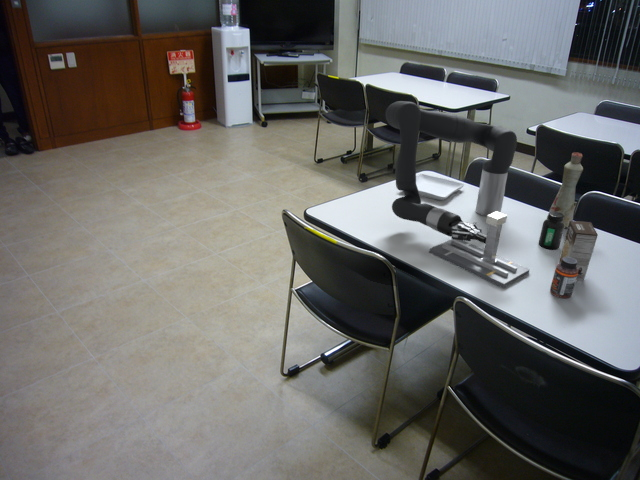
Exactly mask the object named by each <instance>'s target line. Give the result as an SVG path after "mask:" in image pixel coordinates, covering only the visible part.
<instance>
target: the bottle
mask: <svg viewBox="0 0 640 480" xmlns="http://www.w3.org/2000/svg"><path fill="white" fill-rule="evenodd" d="M570 157H571V159H570V161H568V162H567V163H566V164H565V165H564V166H563V167H564V168H563V175H562V183H561V185H560V188H559V190H558V193H557V194H556V196H555V198H554V200H553V202H552V204H551V207H550V208H549V211H548V213H549V212H560V213H562V214H563V215H564V220H563V221H562V222H563V223H564V224H565V228H568V226H569V222H570V221H574V214H575V213H574V210H575V201H576V200H575V198H576V189H577V188H576V186H577V184H578V182H579V179H580V177H581V175H582V173H583V171H584V167H583V166H582V164H581V161H582V159H583V154H582V153H581V152H572V153H571V156H570ZM546 219H548V215H547V217H546ZM565 228H564V229H565Z"/></svg>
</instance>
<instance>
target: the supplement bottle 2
mask: <svg viewBox="0 0 640 480" xmlns="http://www.w3.org/2000/svg"><path fill="white" fill-rule="evenodd" d="M576 265H577V260H576V259H574V258H571V257H563V258H562V261H561V263H559V262H558V263H557V264H556V266H555V270H554V273H553V277H552V282H551V285H550V289H549V290H550V293H551V294H552V295H553V296H555V297H557V298H561V299H568V298H571V296H572V295H573V291H574V288H575V285H576V281H577V280H576V278H577V275H578V268H577V267H576Z"/></svg>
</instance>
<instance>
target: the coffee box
mask: <svg viewBox="0 0 640 480" xmlns="http://www.w3.org/2000/svg"><path fill="white" fill-rule="evenodd" d="M597 239H598V233H597V230H596V229H595V227H594V226H593V223H592V222H591V221H590V222H589V221H580V220H579V221H578V220H573V221H570V222H569V226H568V227H567V230H566V234H565V237H564V242H563V245H562V249H561V253H560V255H559V261H558V264H559V263H561V261H562V258H563V257H571V258H574V259H576V260H577V265H576V267H577V268H578V275H577V278H576V281H579V282H585V278H586V274H587V272H588V269H589V266H590V262H591V258H592V256H593V252H594V249H595V246H596V242H597Z"/></svg>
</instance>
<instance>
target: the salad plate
mask: <svg viewBox="0 0 640 480" xmlns="http://www.w3.org/2000/svg"><path fill="white" fill-rule="evenodd" d="M416 185H417V188H418V192H419V195H420V197H425V198H428V199H433V200H437V201H443V200H445V199H447V198H448V197H449V196H451V195H453V194H455V193H456V192H458V191H459V190H461V189H462V188H463V187H464V186H465V183H462V182H459V181H455V180H450V179H447V178H443V177H439V176H434V175H429V174H424V173H420V174H418V175H416Z"/></svg>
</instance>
